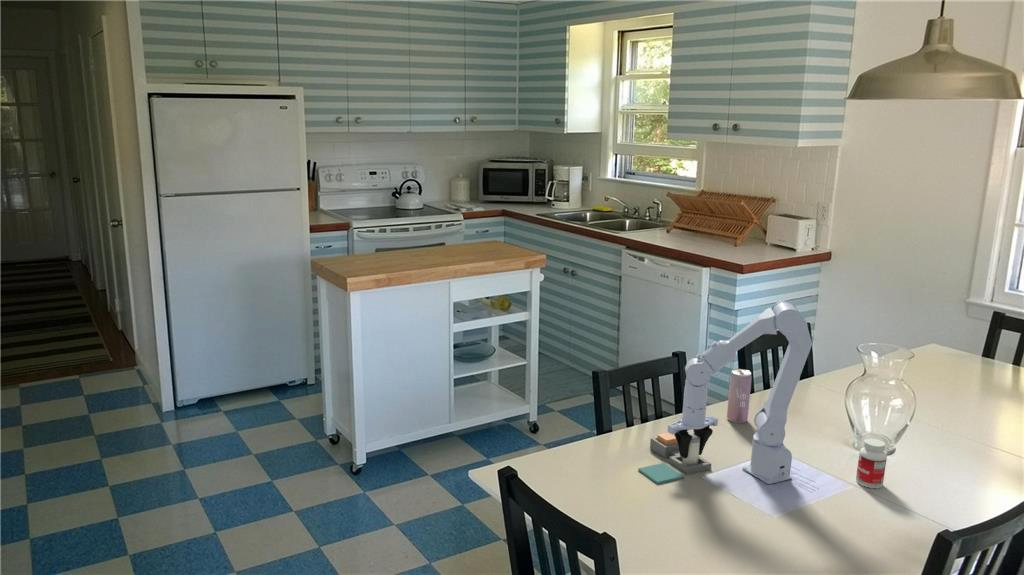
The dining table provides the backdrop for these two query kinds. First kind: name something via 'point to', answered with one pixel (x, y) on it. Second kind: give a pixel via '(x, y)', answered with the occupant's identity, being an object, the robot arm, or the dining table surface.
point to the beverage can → (739, 396)
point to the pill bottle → (871, 464)
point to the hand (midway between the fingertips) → (690, 455)
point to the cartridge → (692, 451)
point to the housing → (678, 457)
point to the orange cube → (667, 439)
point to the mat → (660, 473)
